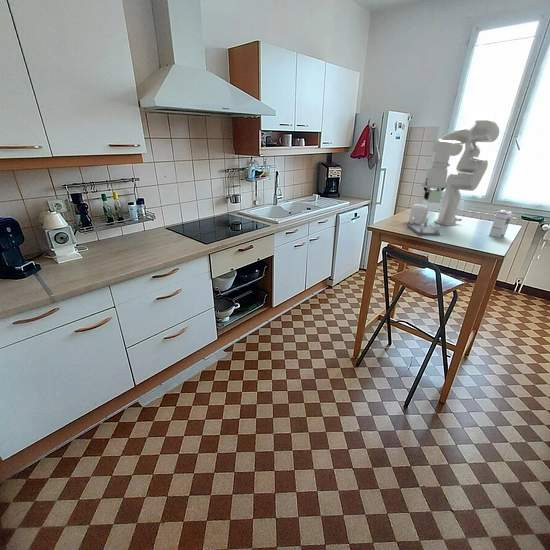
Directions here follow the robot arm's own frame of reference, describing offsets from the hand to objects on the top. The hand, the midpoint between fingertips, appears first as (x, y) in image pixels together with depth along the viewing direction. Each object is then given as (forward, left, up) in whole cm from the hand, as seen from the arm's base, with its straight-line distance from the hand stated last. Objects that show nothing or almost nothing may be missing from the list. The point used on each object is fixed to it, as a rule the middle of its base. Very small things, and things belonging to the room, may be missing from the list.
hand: (430, 198), depth 169 cm
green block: (0, 0, -1) cm, 1 cm away
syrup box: (-41, +5, -19) cm, 46 cm away
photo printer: (-3, -17, -19) cm, 26 cm away
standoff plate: (0, 0, -19) cm, 19 cm away
